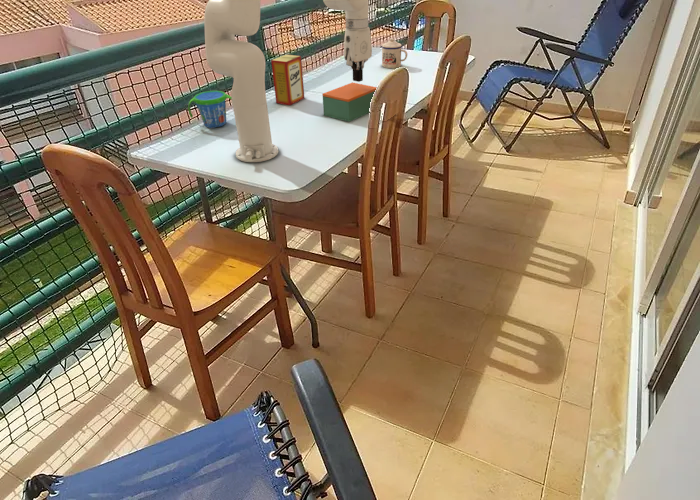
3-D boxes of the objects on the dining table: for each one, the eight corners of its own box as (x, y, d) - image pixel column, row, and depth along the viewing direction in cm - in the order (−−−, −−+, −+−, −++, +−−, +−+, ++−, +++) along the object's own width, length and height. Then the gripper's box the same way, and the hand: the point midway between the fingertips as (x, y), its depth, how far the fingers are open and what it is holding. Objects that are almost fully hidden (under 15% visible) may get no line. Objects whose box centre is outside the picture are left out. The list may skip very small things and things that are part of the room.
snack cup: (189, 131, 165) (182, 101, 159) (195, 120, 174) (189, 91, 168) (236, 128, 166) (231, 98, 160) (239, 118, 174) (235, 89, 169)
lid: (352, 84, 180) (352, 82, 180) (377, 89, 174) (377, 87, 174) (322, 96, 170) (322, 93, 170) (348, 101, 164) (348, 99, 163)
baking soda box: (290, 105, 184) (285, 60, 175) (276, 103, 187) (271, 59, 178) (304, 98, 191) (300, 54, 182) (290, 96, 194) (286, 53, 185)
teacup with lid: (378, 67, 225) (378, 40, 218) (385, 62, 231) (386, 36, 225) (403, 69, 220) (404, 41, 214) (410, 64, 227) (411, 37, 220)
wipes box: (351, 103, 184) (351, 85, 180) (376, 109, 177) (376, 90, 174) (323, 115, 174) (322, 96, 170) (349, 121, 168) (348, 102, 164)
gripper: (351, 28, 156) (352, 87, 166) (379, 21, 165) (379, 77, 176) (333, 26, 160) (335, 83, 170) (362, 19, 169) (362, 74, 180)
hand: (357, 80), depth 173 cm, fingers closed
